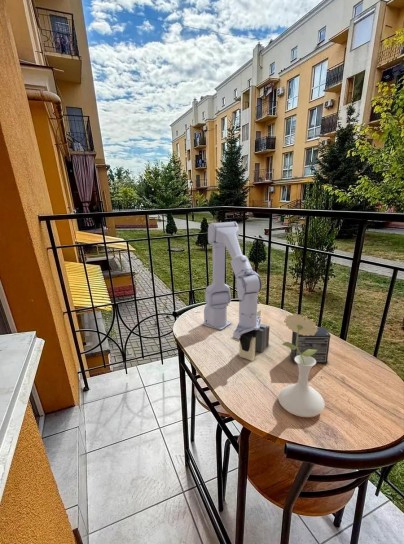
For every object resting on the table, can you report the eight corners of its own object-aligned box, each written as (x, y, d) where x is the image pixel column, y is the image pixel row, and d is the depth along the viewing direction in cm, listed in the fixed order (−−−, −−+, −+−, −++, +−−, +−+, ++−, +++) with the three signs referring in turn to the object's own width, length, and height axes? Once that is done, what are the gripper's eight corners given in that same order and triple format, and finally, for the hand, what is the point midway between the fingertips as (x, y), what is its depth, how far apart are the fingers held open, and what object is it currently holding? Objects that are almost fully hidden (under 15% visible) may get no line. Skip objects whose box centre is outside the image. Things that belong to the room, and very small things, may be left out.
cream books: (246, 329, 115) (246, 311, 112) (251, 325, 119) (252, 307, 116) (254, 331, 113) (254, 313, 110) (260, 327, 117) (260, 309, 114)
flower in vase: (333, 409, 71) (347, 320, 62) (303, 429, 66) (314, 334, 57) (293, 383, 82) (300, 303, 73) (264, 398, 76) (268, 314, 67)
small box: (321, 353, 96) (325, 326, 92) (327, 364, 90) (331, 335, 86) (290, 353, 97) (292, 325, 93) (293, 363, 91) (296, 335, 87)
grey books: (248, 348, 101) (249, 326, 98) (256, 342, 105) (257, 320, 102) (261, 352, 98) (262, 329, 95) (268, 345, 102) (269, 323, 99)
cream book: (239, 356, 96) (239, 335, 93) (242, 354, 98) (242, 333, 95) (252, 361, 93) (252, 339, 91) (254, 358, 95) (255, 337, 92)
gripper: (247, 322, 82) (246, 362, 87) (269, 307, 92) (267, 343, 97) (227, 317, 86) (227, 355, 91) (250, 302, 96) (249, 337, 101)
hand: (247, 348), depth 94 cm, fingers closed on cream book, 2 cm apart
